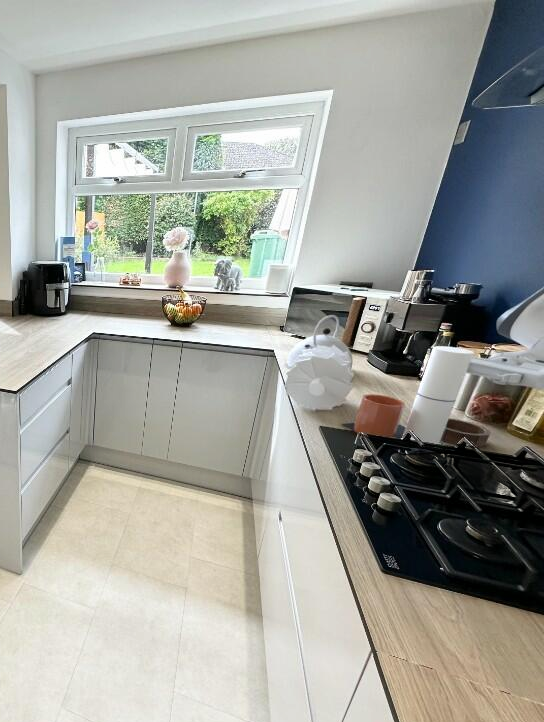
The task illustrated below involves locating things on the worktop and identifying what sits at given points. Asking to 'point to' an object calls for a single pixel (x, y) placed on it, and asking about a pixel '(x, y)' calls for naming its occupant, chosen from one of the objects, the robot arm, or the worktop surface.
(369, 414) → the terracotta cup
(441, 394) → the cylindrical container
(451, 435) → the holder ring
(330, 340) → the kettle
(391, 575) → the worktop surface
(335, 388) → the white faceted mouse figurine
